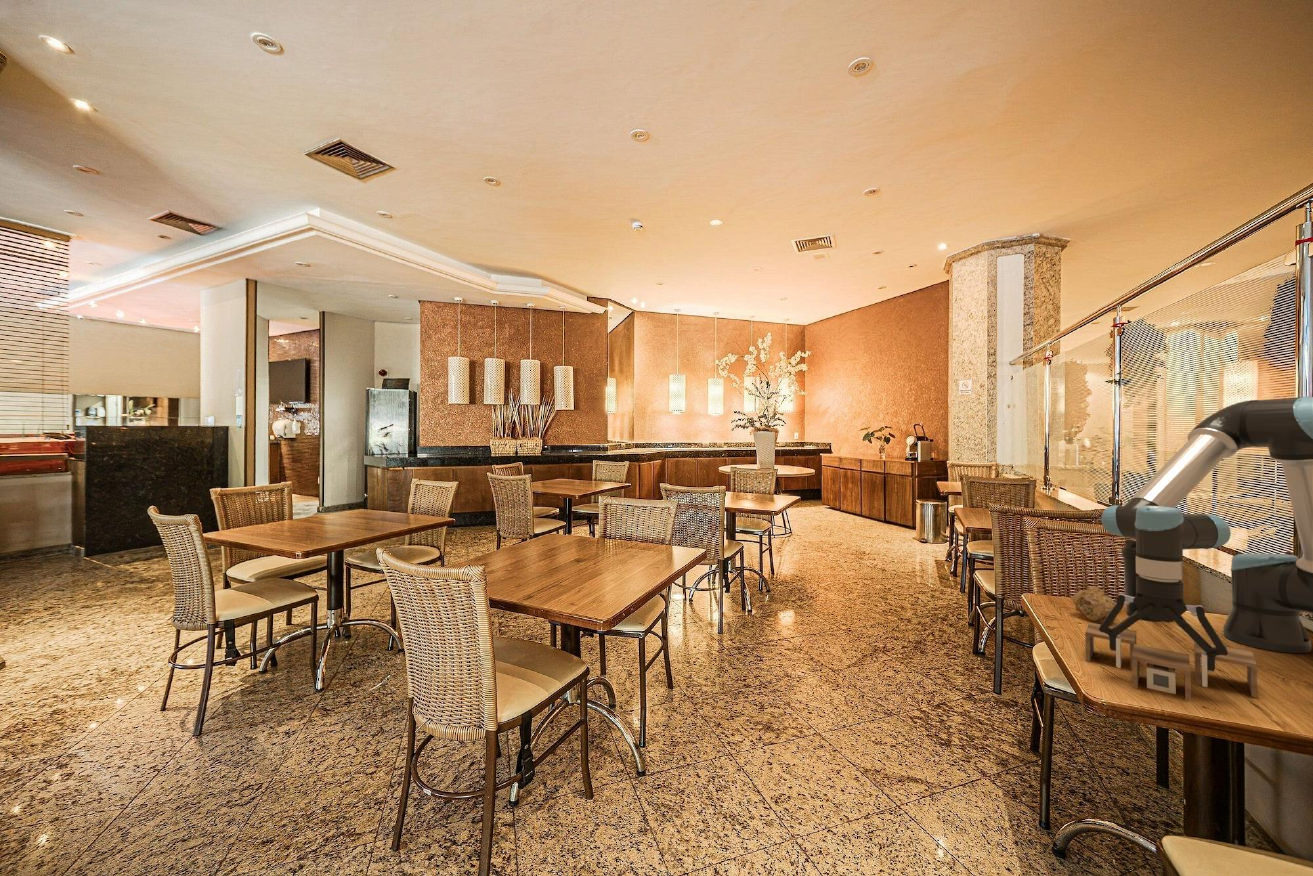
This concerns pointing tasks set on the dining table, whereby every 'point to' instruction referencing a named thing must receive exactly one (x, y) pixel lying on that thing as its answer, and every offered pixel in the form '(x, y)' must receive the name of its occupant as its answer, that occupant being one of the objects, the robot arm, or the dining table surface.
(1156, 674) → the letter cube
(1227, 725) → the dining table surface
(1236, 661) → the cover
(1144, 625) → the dining table surface
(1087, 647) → the cover
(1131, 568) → the water bottle
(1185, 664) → the cover
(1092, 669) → the dining table surface
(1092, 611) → the rock
